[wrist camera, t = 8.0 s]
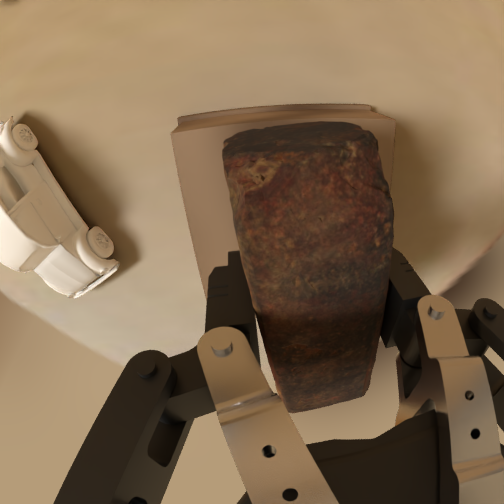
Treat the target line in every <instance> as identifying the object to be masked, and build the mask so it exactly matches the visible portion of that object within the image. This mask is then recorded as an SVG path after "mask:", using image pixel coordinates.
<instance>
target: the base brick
mask: <svg viewBox="0 0 504 504" xmlns="http://www.w3.org/2000/svg"><path fill="white" fill-rule="evenodd" d="M177 119H178V125H179V126H178V127H177V128H176V129H175V130H174V131H173V132H172V133H171V139H172V145H173V150H174V156H175V161H176V166H177V172H178V177H179V182H180V187H181V192H182V197H183V202H184V206H185V211H186V216H187V220H188V225H189V229H190V234H191V238H192V243H193V247H194V251H195V256H196V260H197V264H198V268H199V272H200V276H201V281H202V285H203V289H204V292H205V296H206V300H207V291H208V277H209V275H210V274H211V272H212V271H213V269H214V268H215V267H218V266H227V265H228V251H237V250H239V246H238V241H237V237H236V233H235V228H234V224H233V212H232V207H231V203H230V192H229V189H228V186H227V182H226V178H225V174H224V166H223V159H222V149H223V148H224V146H223V142H224V140H225V139H227V138H229V137H232V136H233V135H234V134H236V133H238V132H242V131H246V130H250V129H264V128H265V127H272V126H277V125H286V124H294V123H304V122H318V121H330V122H348V123H352V124H356V125H359V126H361V128H362V129H363V130H369V131H370V132H372V133H373V135H374V136H375V138H376V139H377V140H378V147H379V149H378V153H379V155H380V159H381V164H382V169H383V174H384V178H385V180H386V181H387V182H388V185H389V190H390V188H391V178H392V168H393V156H394V141H395V120H394V119H392V118H389V117H386V116H384V115H381V114H378V113H375V112H373V111H371V106H369V105H365V104H292V105H274V106H260V107H248V108H238V109H230V110H221V111H214V112H206V113H200V114H193V115H187V116H181V117H179V118H177ZM255 318H256V315H255Z"/></svg>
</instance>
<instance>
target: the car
mask: <svg viewBox="0 0 504 504" xmlns="http://www.w3.org/2000/svg"><path fill="white" fill-rule="evenodd" d="M13 122H14V120H13V116H12V117H11V118H10V119H9V120H8V121H7V122H6V123H5V124H4V126H2V127H1V125H2V124H3V123H4V122H0V127H1V129H0V262H1V263H2V264H3V265H5V266H7V267H9V268H11V269H13V270H15V271H20V272H25V274H26V273H27V271H29V272H30V271H31V270H34V271H35V272H36V273H37V274H38V275H39V276H41V277H42V278H43V279H44V281H45V282H46V283H47V284H48V285H49V286H50V287H51V288H52V289H54V290H55V291H57V292H59V293H61V294H64V295H68V298H72V297H74V298H75V299H76V298H78V297H80V296H82V295H83V294H85V293H87V292H89V291H90V290H92V289H93V288H95V287H96V286H97V285H99V284H100V283H102V282H103V281H104V280H106V279H107V278H108V277H109V276H111V275H112V274H113V273H114V272H115V271H117V270H118V267H119V266H120V263H118V262H119V261H116V260H115V259H111V260H107V259H106V258H108V257H109V256H110V255H111V254H112V253H113V251H114V245H113V242H112V240H111V239H110V238H109V237H108V236H107V235H106V234H105V232H104V231H103V230H102V229H101V228H100V227H98V226H96V227H93V228H92V229H91V230H89V231H88V229H89V227H88V226H87V225H86V223H85V222H84V221H83V219H82V218H81V217H80V215H79V214H78V212H77V211H76V209H75V208H74V206H73V205H72V204H71V202H70V201H69V199H68V198H67V196H66V195H65V193H64V192H63V190H62V189H61V187H60V185H59V184H58V182H57V181H56V179H55V178H54V176H53V174H52V173H51V171H50V170H49V168H48V166H47V165H46V163H45V161H44V160H43V158H42V156H41V155H40V153H39V152H38V151H37V150H34V149H35V148H36V147H37V145H38V140H37V138H36V137H35V135H34V134H33V133H32V131H31V130H30V128H29V127H28V126H27V125H25V124H17V125H16V126H15V127H14V128H13V130H12V131H11V128H12V124H13ZM32 163H33V164H34V165H33V164H32ZM117 263H118V264H117ZM116 264H117V265H116ZM110 269H111V270H110ZM103 274H105V275H103ZM101 275H103V276H102V277H101V278H99V279H98V280H96V281H95V282H93V280H95V279H96V278H97V277H99V276H101ZM91 282H93V283H92V284H91V285H89V286H87V285H88V284H89V283H91ZM86 286H87V287H86ZM85 287H86V288H85ZM75 293H76V294H75Z"/></svg>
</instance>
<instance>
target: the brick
mask: <svg viewBox="0 0 504 504" xmlns="http://www.w3.org/2000/svg"><path fill="white" fill-rule="evenodd" d="M223 146H224V148H223V149H222V159H223V166H224V174H225V178H226V182H227V186H228V189H229V192H230V203H231V207H232V212H233V224H234V228H235V233H236V237H237V241H238V246H239V250H240V256H241V261H242V265H243V269H244V273H245V276H246V279H247V283H248V286H249V290H250V294H251V298H252V304H253V307H254V312H255V315H256V318H257V321H258V325H259V329H260V332H261V336H262V339H263V343H264V347H265V351H266V354H267V358H268V362H269V365H270V367H271V371H272V374H273V377H274V380H275V384H276V389H277V392H278V394H279V397H280V398H281V400H282V402H283V403H284V405H285V407H286V409H287V411H288V412H289V413H297V412H303V411H308V410H313V409H317V408H321V407H325V406H330V405H333V404H336V403H339V402H344V401H349V400H352V399H356V398H359V397H362V396H364V395H365V393H366V391H367V390H368V388H369V385H370V379H371V373H372V369H373V366H374V363H375V360H376V359H375V358H376V353H377V348H378V343H379V338H380V333H381V328H382V323H383V317H384V310H385V303H386V297H387V292H388V284H389V274H390V265H391V252H392V245H393V237H394V236H393V220H394V210H393V203H392V198H391V197H390V190H389V185H388V182H387V181H386V180H385V178H384V174H383V169H382V164H381V159H380V155H379V153H378V149H379V147H378V140H377V139H376V138H375V136H374V135H373V133H372V132H370V131H369V130H363V129H362V128H361V126H359V125H356V124H352V123H348V122H330V121H318V122H304V123H294V124H286V125H277V126H272V127H265V128H264V129H250V130H246V131H242V132H238V133H236V134H234V135H233V136H232V137H229V138H227V139H225V140H224V142H223Z"/></svg>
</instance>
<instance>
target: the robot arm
mask: <svg viewBox="0 0 504 504" xmlns="http://www.w3.org/2000/svg"><path fill="white" fill-rule="evenodd" d="M380 336H381V338H382V340H383V343H384V345H385V347H386V348H389V347H393V346H397V347H398V350H399V351H398V354H397V356H396V365H397V376H398V389H399V409H398V412H397V416H396V422H395V427H393V428H392V429H390V430H388V431H387V432H385V433H384V434H382V435H380V436H378V437H376V438H374V439H361V440H360V439H358V440H357V439H355V440H340V439H339V440H337V439H334V440H328V441H323V442H318V443H312V444H306V445H305V443H304V441H303V439H302V437H301V436H300V434H299V432H298V430H297V428H296V426H295V424H294V422H293V420H292V419H291V417H290V415H289V413H288V411H287V409H286V407H285V405H284V403H283V402H282V400H281V398H280V397H279V396H278V394H277V393H273V391H272V390H271V388H270V386H269V384H268V382H267V380H266V378H265V376H264V374H263V372H262V370H261V364H260V355H259V346H258V337H257V327H256V318H255V312H254V307H253V304H252V298H251V294H250V290H249V286H248V283H247V279H246V276H245V273H244V269H243V265H242V261H241V256H240V250H237V251H228V265H227V266H218V267H215V268H214V269H213V271H212V272H211V274H210V275H209V277H208V291H207V306H206V323H205V333H204V335H203V336H202V337H201V338H200V340H199V342H198V345H196V346H195V347H194V348H193V349H191V350H189V351H187V352H184V353H181V354H178V355H175V356H172V357H169V358H168V357H167V355H165V354H164V353H162V352H160V351H157V350H146V351H143V352H140V353H138V354H136V355H135V356H133V357H132V358H131V359H130V360H129V362H128V363H127V365H126V367H125V368H124V370H123V372H122V373H121V375H120V377H119V379H118V380H117V382H116V384H115V386H114V387H113V389H112V391H111V393H110V395H109V396H108V398H107V400H106V402H105V404H104V405H103V407H102V409H101V411H100V413H99V414H98V416H97V418H96V420H95V422H94V424H93V426H92V428H91V429H90V431H89V433H88V435H87V437H86V439H85V441H84V443H83V445H82V446H81V448H80V451H79V452H78V454H77V456H76V458H75V460H74V462H73V464H72V466H71V468H70V470H69V472H68V474H67V477H66V478H65V480H64V482H63V484H62V487H61V489H60V491H59V493H58V495H57V497H56V499H55V501H54V504H160V503H161V501H162V499H163V496H164V494H165V491H166V489H167V486H168V484H169V481H170V479H171V476H172V474H173V471H174V469H175V466H176V464H177V461H178V459H179V456H180V454H181V451H182V449H183V446H184V443H185V441H186V438H187V436H188V433H189V431H190V428H191V426H192V423H193V421H194V418H197V417H199V416H203V415H205V414H209V413H211V412H214V411H217V416H218V419H219V422H220V425H221V428H222V430H223V433H224V436H225V438H226V441H227V444H228V446H229V449H230V451H231V454H232V457H233V459H234V462H235V464H236V467H237V469H238V471H239V474H240V476H241V479H242V481H243V484H244V486H245V488H246V492H245V494H244V495H243V496H242V498H241V499H240V500H239V502H238V503H237V504H504V445H502V444H501V443H500V441H499V433H498V427H497V424H498V425H499V427H500V428H501V429H502V430H503V431H504V375H503V374H502V373H501V372H500V371H499V370H498V369H497V368H496V367H495V366H494V365H493V364H492V363H491V362H490V361H489V360H488V358H487V357H486V356H485V355H484V354H485V352H486V351H487V349H488V348H489V346H490V347H491V348H492V349H493V350H494V351H495V352H496V353H497V354H498V355H499V356H500V357H501V358H502V359H503V360H504V309H503V308H502V307H501V306H500V305H499V304H497V303H496V302H495V301H493V300H491V299H487V298H481V299H478V300H477V301H476V302H475V304H474V306H473V308H472V310H466V309H454V307H453V306H452V304H451V303H450V302H449V301H448V300H446V299H445V298H443V297H441V296H437V295H431V293H430V292H429V290H428V289H427V287H426V286H425V284H424V283H423V282H422V280H421V279H420V277H419V276H418V275H417V273H416V272H415V271H414V269H413V268H412V266H411V265H410V264H408V261H407V260H406V258H405V257H404V256H403V254H402V253H400V252H399V251H397V250H396V249H394V248H393V247H392V252H391V265H390V274H389V284H388V292H387V297H386V303H385V310H384V317H383V323H382V328H381V333H380Z"/></svg>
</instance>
